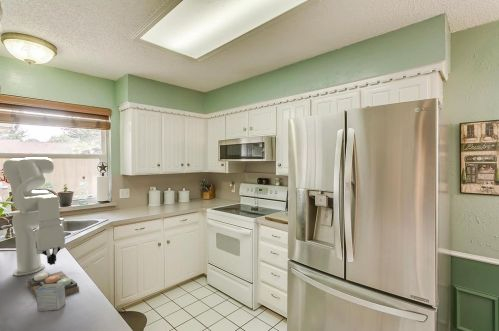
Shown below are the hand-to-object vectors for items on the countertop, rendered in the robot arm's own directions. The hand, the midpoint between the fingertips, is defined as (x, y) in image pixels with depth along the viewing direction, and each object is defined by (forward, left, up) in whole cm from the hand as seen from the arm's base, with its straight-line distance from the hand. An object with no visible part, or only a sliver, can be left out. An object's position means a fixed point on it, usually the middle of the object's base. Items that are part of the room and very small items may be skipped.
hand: (52, 263), depth 114 cm
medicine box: (+18, -5, -12) cm, 22 cm away
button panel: (-1, 0, -11) cm, 11 cm away
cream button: (-9, -3, -9) cm, 12 cm away
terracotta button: (-1, 0, -9) cm, 9 cm away
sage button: (+7, +2, -9) cm, 12 cm away
